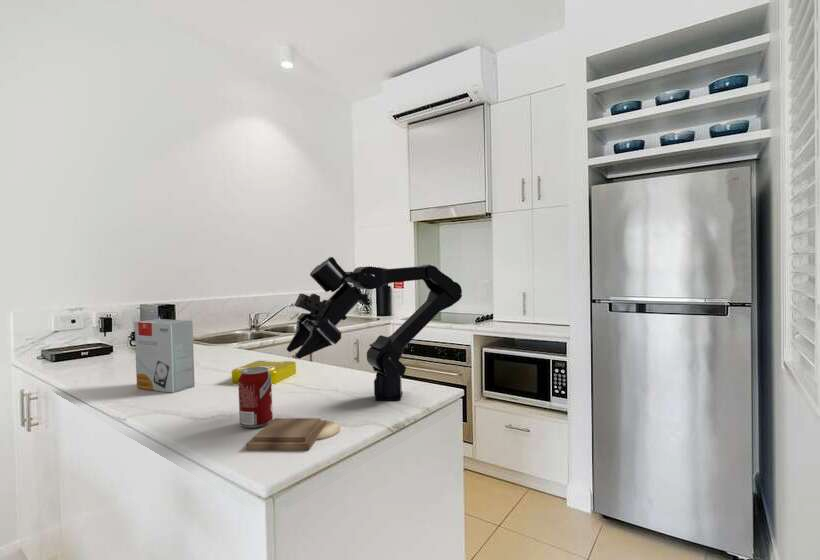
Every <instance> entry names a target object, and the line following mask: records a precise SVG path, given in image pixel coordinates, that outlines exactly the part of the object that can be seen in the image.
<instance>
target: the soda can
mask: <svg viewBox="0 0 820 560" xmlns="http://www.w3.org/2000/svg"><path fill="white" fill-rule="evenodd" d="M241 373H242V374H241V376H240V378H239V379H238V384H237V385H238V408H239V409H238V410H239V424H240V426H242V427H244V428H247V429H258V428H262V427H263V428H264V427H265V426H266V425H267V424H269V423H270V422H271V421H272V420H273V419H274V417H273V414H274V413H273V392H272V390H273V389H272V386H273V385H271V375H270V374H269V372H268V368H266V367H252V368H247V369H244V370H242V371H241Z"/></svg>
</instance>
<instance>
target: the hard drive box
mask: <svg viewBox="0 0 820 560" xmlns="http://www.w3.org/2000/svg"><path fill="white" fill-rule="evenodd" d="M133 324H134V344H135V346H134V348H135V371H136V372H135V373H136V389H140V390H141V389H142V390H146V391H147V390H148V391H154V392H155V391H157V392H160V393H161V392H162V393H170V394H174V393H177V392H180V391H184V390H187V389H190V388H193V387H195V386H196V385H195V382H196V381H195V363H194V362H195V359H194V358H195V357H194V355H195V354H194V332H193V331H194V329H193V327H194V326H193V320H185V319H184V320H183V319H165V318H163V319H162V318H154V319H149V320H148V319H147V320H139V321H134V322H133Z"/></svg>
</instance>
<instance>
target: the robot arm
mask: <svg viewBox="0 0 820 560" xmlns="http://www.w3.org/2000/svg"><path fill="white" fill-rule="evenodd" d="M309 276H310V277H311V278H312V279H313V280H314V282H316V283H317V285H319V286H320V288H322V290H324V291H325V293H327V292H332V293H333V294H332V295H331V296H330V297H329V298H328V299H323V300H322V301H321V296H320V295H318V294H316V293H311V294H310V295H308V294H304V293H299V295H298V297H297V299H296V301H295V303H294V305H293V306H295V307H296V308H301V309H303V310H305V311H307V312H302V313H301V314H300V315H298V316H297V318H296V319H297V320H296V324H297V325H296V326H297V330H296V332H295V333H294V336H293V337H292V339H291V341H290V342H289V344H288V345H287V347H286V351H287V352H288V353H290V352H293V351H294V350H297V349H298V351H297V352H296V354H295V357H296V358H297V359H298V360H299V359H300V360H301V359H302V358H305V357H306V356H309V355H311V354H313V353H316V352H318V351H320V350H323V349H325V348H327V347H331V346H333V345H336V344H337V343H338V342H339V341H340V340H341V339H342V332H341V331H340V330H339V329H338V328H337V327H336V326H337V325H338V324H339V323H340V322H341V321H345V320H346V319H348V317H347V314H349V313H350V311H352V309H354V308H355V306H356V305H358V303H359V304H360V305H364V306H367V305H368V304H369V301H368V295H369V294H368V293H362V291H360V290H369V291H370V290H374V289H378V288H381V287H384V286H386V285H389V284H392V283H401V282H403V283H404V282H412V281H421V280H422V281H423V282H424V284H425V286H426V288H428V290H429V292H428V295H427V299H426V301H424V303H423V304H422V305H421V306H419V308H417V310H415V312H414V313H412V315H410V316H409V317H408V318H407V319H406V320H405V321H404V322H403V324H401V325H400V326H399V327H398V328H396V330H395V331H394V332H393V333H392V334H391V335H390V336H384V335H381V334H380V335H379V336H378V337H377V338H376V339H375V341H374V342H372V343H370V344H369V348H368V350H366V351H367V352H366V360H367V363H368V364H369V365H370V366H372V369H373V372H376V374H375V378H374V380H373V388H374V389H373V392H374V393H373V394H374V397H375V398H374V400H375V401H401V400H402V397H403V394H404V391H402V389H403V388H402V385H403V384H402V383H403V382H402V377H403V376H404V375H405V373H406V369H407V368H406V366H405V364H403V363H402V362H401V361H400V359H401V358H402V356H403V352H404V349H405V348H406V346H407V345H408V344H409V343H410V342H411V341H412V340H413V339H414V338H415V337H416V336H417V335H418V334H419V333H420V332H421V331H422V330H423V329H424V328H426V326H428V324H429V323H430V322H431V321H433V319H434V317H437V315H438V314H439V313H440V312H441V311H444V310H446V309H448V308H451V307H452V306H453V305H455V304H456V303H457V302H459V301H460V300H461V299H462V297H463V294H462V293H463V289H462V287H461V285H460V284H459V283H458V282H456V281H454V280H453V278H451V277H449V276H448V275H447V274H445V273H443V272H442V271H441V270H439V269H438V267H437V266H435V265H434V264H422V265H418V266H408V267H396V268H385V267H379V266H370V265H369V266H359V267H358V266H357V267H356V268H354V270H353V271H345V270H344V269H343V268H342V267H341V265H339V264H338V262H337V261H336V259H335V258H334V256H329V257H328V258H327V259H326V260H324V261H323V262H321V263H320V264H318V265H316V266H315V267H314V268H313V269H312V270H311V272H310V273H309ZM351 284H352V285H353V286H352V285H351ZM308 312H309V313H308Z"/></svg>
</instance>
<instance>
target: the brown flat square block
mask: <svg viewBox="0 0 820 560" xmlns="http://www.w3.org/2000/svg"><path fill="white" fill-rule="evenodd" d="M327 421H328V419H327V420H326V419H323V420H322V418H321V417H320V418H319V417H317V418H316V417H309V418H308V417H300V418H299V417H296V418H295V417H294V418H293V417H292V418H291V417H289V418H288V417H285V418H284V417H283V418H282V417H273V419H272V421H271V422H269V423H268V424H267V425H265V426H263V428H262V429H261V430H260V431H258V432H257V433H256V434H255V435H254V436H253V437H251V439H249V440H248V441H247V442H246V447H245V449H246V450H249V451H252V450H253V451H256V450H257V451H310V450H311V449H312V447H313V446H314V444H315V443H316V441H318V440H317V438H316V437H317V436H318V435H319V433H320V432H321V431H322V429H323V428H324V427H325V425H326V424H327Z"/></svg>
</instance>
